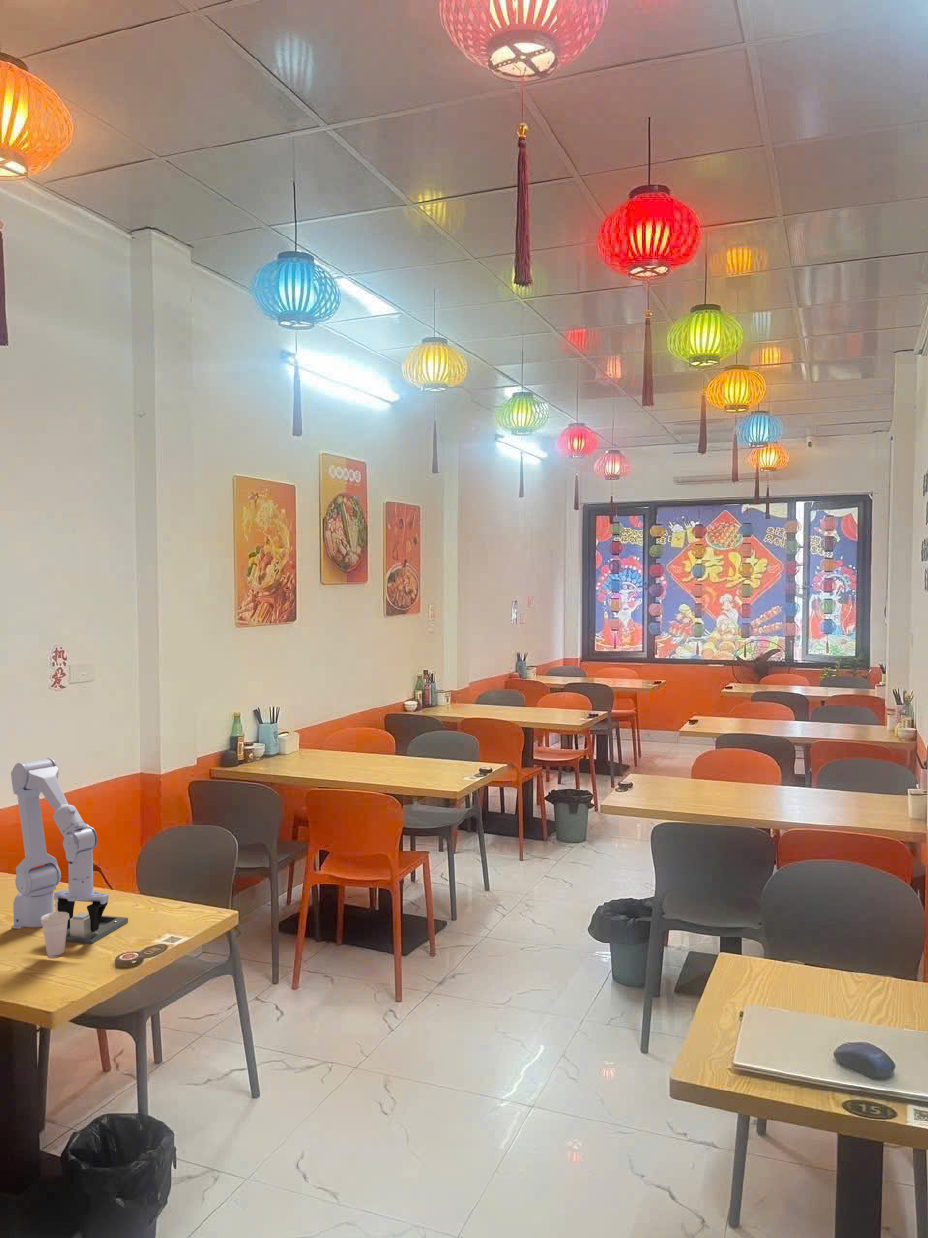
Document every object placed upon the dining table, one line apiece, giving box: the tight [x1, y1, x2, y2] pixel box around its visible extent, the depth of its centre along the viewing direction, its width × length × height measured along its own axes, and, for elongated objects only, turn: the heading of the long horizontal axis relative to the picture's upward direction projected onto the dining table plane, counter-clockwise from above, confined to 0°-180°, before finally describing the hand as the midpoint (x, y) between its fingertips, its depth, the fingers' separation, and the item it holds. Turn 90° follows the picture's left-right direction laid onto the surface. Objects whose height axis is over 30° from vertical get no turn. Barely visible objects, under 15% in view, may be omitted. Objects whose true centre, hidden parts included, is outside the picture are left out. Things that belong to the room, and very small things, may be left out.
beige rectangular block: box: [70, 912, 92, 937], centre depth 223 cm, size 4×4×6 cm
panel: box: [65, 915, 129, 945], centre depth 227 cm, size 11×15×2 cm
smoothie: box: [41, 899, 70, 959], centre depth 213 cm, size 6×6×14 cm
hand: (81, 929), depth 223 cm, fingers open, 7 cm apart
